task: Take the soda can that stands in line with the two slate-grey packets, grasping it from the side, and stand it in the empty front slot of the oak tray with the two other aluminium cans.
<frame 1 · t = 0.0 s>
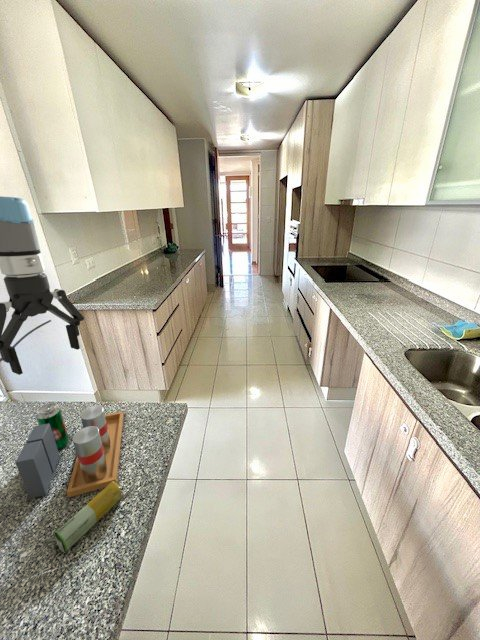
hand: (49, 359, 64), 24 cm above the countertop, tool pointing down, fingers open, 13 cm apart
can tray: (101, 450, 68), on the countertop
matching cans: (98, 460, 65), resting on can tray
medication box: (93, 522, 52), on the countertop
grey packets: (46, 476, 61), on the countertop
soda can: (58, 445, 70), on the countertop
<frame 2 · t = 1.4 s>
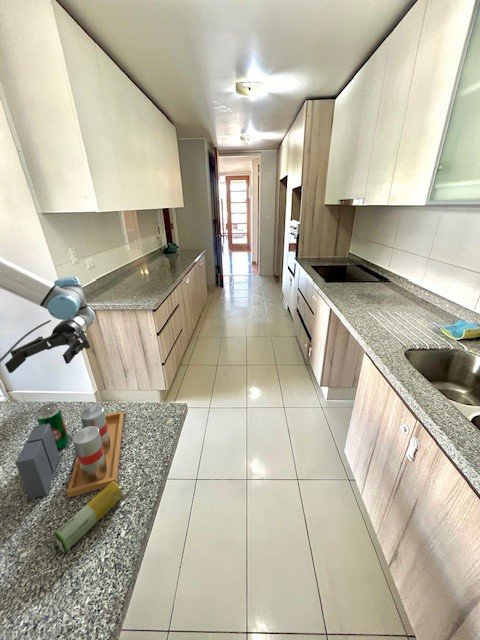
hand: (37, 363, 67), 21 cm above the countertop, tool horizontal, fingers open, 13 cm apart
nothing on the countertop moved.
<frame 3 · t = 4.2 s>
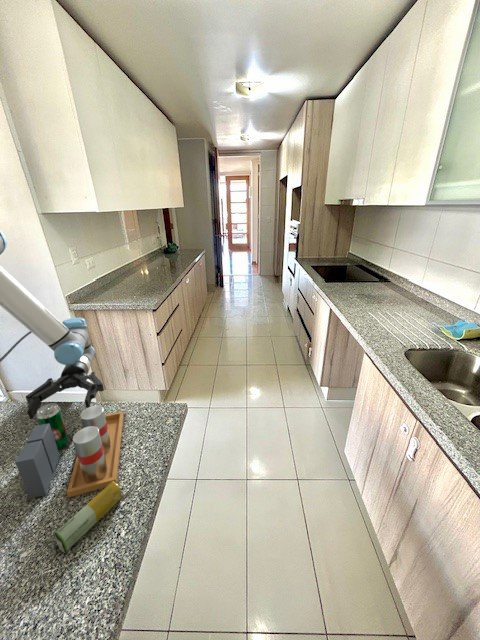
hand: (59, 409, 72), 7 cm above the countertop, tool horizontal, fingers open, 13 cm apart
nothing on the countertop moved.
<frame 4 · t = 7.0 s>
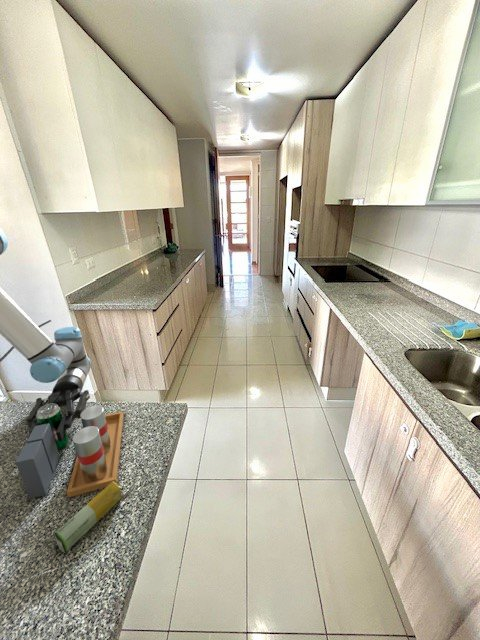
hand: (45, 439, 62), 7 cm above the countertop, tool horizontal, fingers closed on soda can, 5 cm apart
soda can: (58, 445, 70), on the countertop, touching gripper
everything else where it was.
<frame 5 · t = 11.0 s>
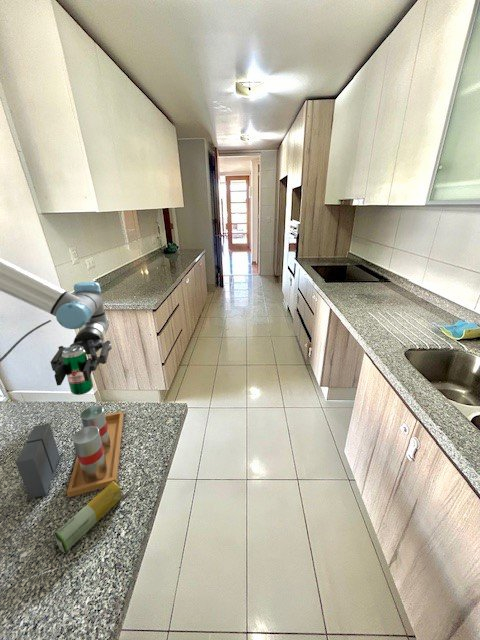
hand: (71, 378, 61), 22 cm above the countertop, tool horizontal, fingers closed on soda can, 5 cm apart
soda can: (82, 390, 68), point 15 cm above the countertop, touching gripper
everything else where it was.
when the fingers open (7 cm above the countertop, at t = 15.4 s): soda can stays where it is, resting on can tray.
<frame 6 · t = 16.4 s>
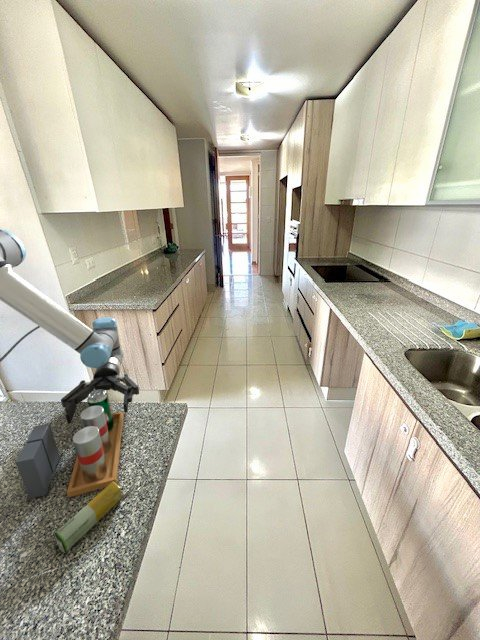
hand: (97, 414, 69), 8 cm above the countertop, tool horizontal, fingers open, 13 cm apart
soda can: (104, 429, 75), resting on can tray
everything else where it was.
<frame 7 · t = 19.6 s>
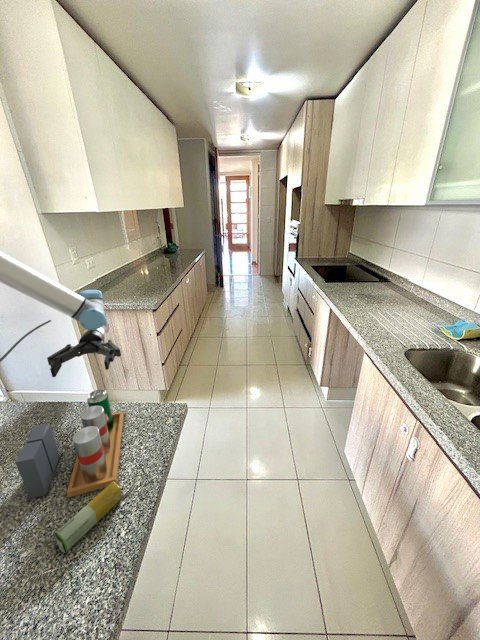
hand: (80, 369, 75), 16 cm above the countertop, tool horizontal, fingers open, 13 cm apart
nothing on the countertop moved.
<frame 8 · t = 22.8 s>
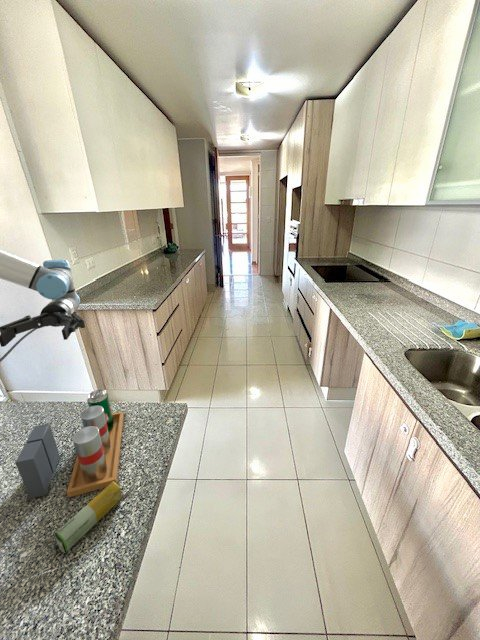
hand: (33, 338, 67), 28 cm above the countertop, tool horizontal, fingers open, 13 cm apart
nothing on the countertop moved.
at the end: soda can 0.0 cm from the target spot in the can tray, point 0.3 cm above the can tray's base; soda can tilted 0°; the gripper is holding nothing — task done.
